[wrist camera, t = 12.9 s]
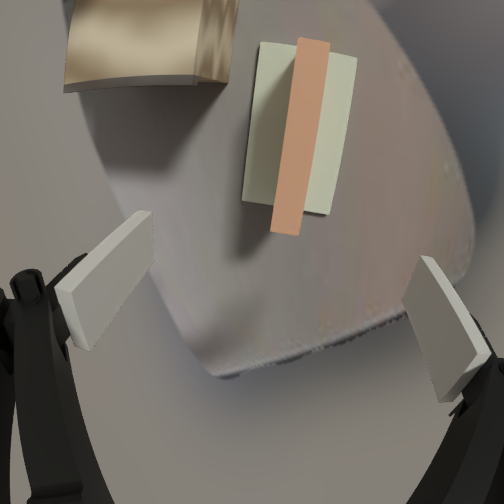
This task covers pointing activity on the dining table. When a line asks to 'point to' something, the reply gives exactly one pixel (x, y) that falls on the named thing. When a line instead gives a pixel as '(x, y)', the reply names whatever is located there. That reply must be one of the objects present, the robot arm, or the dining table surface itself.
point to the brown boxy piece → (149, 43)
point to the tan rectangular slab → (300, 134)
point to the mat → (274, 123)
